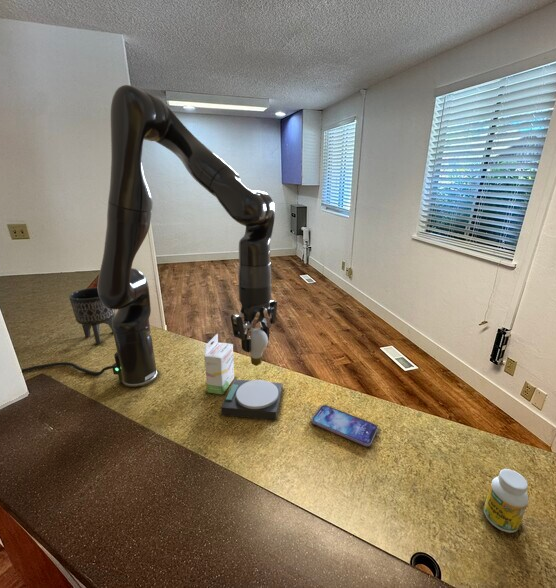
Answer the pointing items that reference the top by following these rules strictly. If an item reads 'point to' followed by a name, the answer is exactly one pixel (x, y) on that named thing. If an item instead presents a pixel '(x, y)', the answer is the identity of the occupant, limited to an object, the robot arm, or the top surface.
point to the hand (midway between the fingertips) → (256, 345)
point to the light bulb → (257, 345)
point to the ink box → (218, 366)
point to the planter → (90, 311)
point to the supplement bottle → (507, 500)
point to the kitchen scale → (253, 399)
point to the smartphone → (345, 425)
